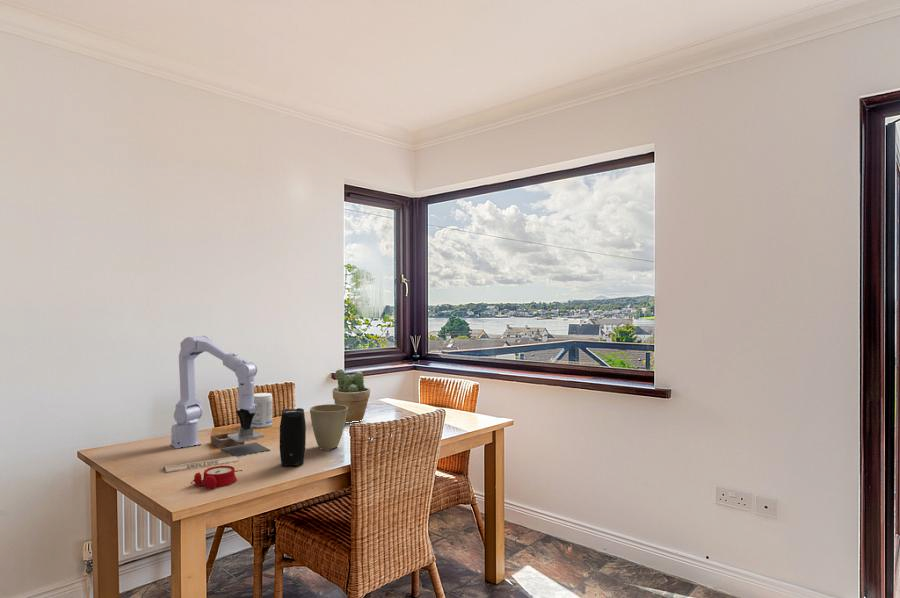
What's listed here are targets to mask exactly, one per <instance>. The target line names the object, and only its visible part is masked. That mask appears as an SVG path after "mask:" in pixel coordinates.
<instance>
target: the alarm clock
mask: <svg viewBox="0 0 900 598" xmlns="http://www.w3.org/2000/svg"><path fill="white" fill-rule="evenodd" d="M242 471H243V469H241V470H239V469H238V470H235V467H234V466H232V465H231V466H230V465H215V466H210V467H208V468H206V469H204V471H203V478H202V474H201V473H200V472H196V473H195V474H194V478H193V479H192V481H190V484H191V485H193V486H196V487H201V486H203V487H204V488H205V489H207V490H213V489H215V488H218V487H219V488H220V487H226V486H229V485H232V484H234V483H235V482H236V481H237V476H236V474H235V472H237V473H238V472H242Z"/></svg>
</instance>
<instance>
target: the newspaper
mask: <svg viewBox="0 0 900 598" xmlns="http://www.w3.org/2000/svg"><path fill="white" fill-rule="evenodd" d="M237 461H240V460H239V459H238V457H236V456H228V457H227V456H226V457H221V458H214V459H207V460H200V461H194V462H188V463H187V462H186V463H180V464H173V465H166V466H163V469H165V473H166V472H168V473H173V472H172V471H175V472H180V471H179V470H181V471H185V470H184V469H188V470H191V469H190V468H194V469H198V468H197V467H201V468H205V466H207V467H212V466H211V465H214V466H218V465H217V464H220V465H225V464H224V463H226V464H231V463H230V462H233V463H237Z"/></svg>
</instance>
